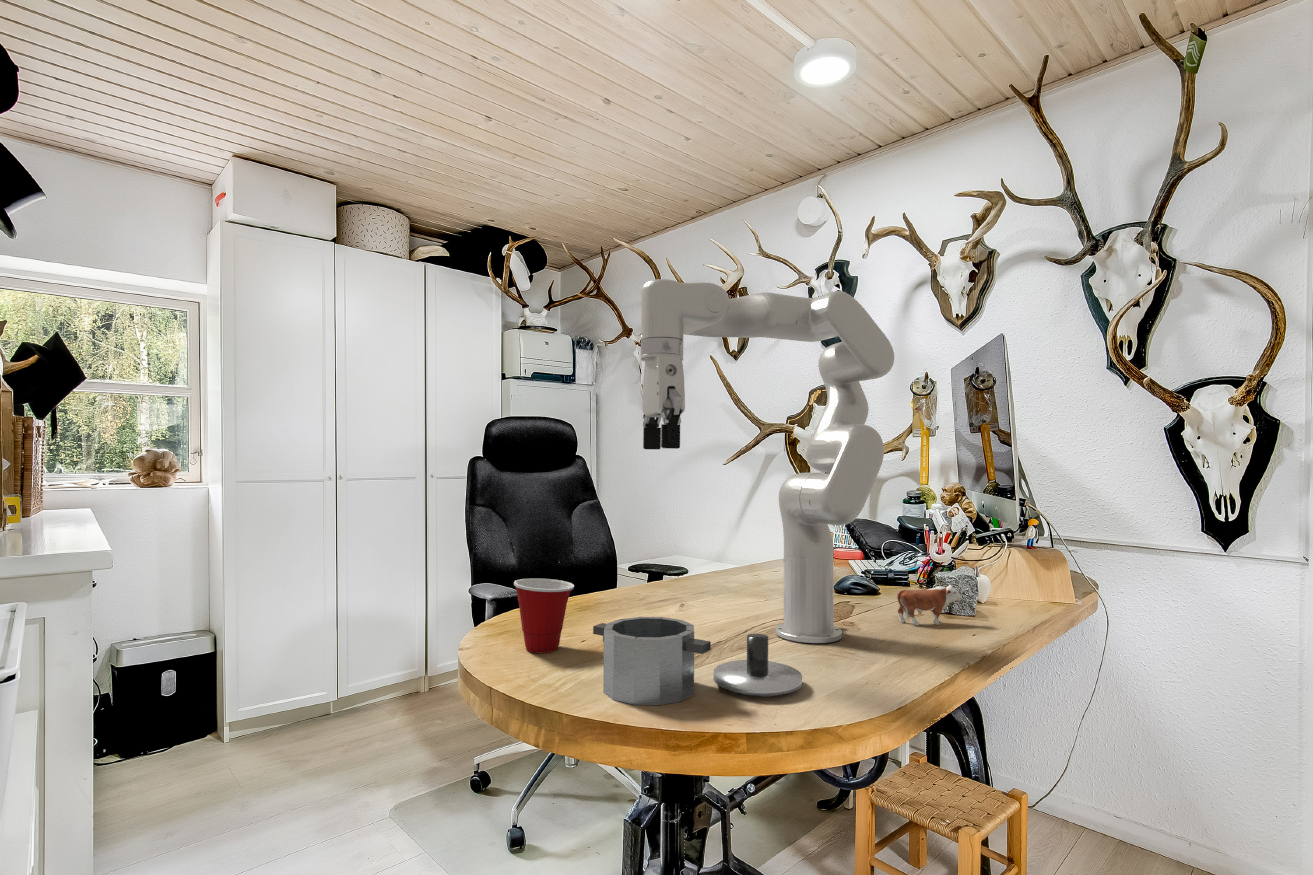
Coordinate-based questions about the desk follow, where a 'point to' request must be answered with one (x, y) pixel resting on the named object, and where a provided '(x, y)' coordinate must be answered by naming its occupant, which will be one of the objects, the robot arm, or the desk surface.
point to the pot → (649, 659)
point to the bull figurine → (925, 602)
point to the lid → (757, 672)
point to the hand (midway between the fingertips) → (660, 448)
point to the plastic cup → (542, 612)
